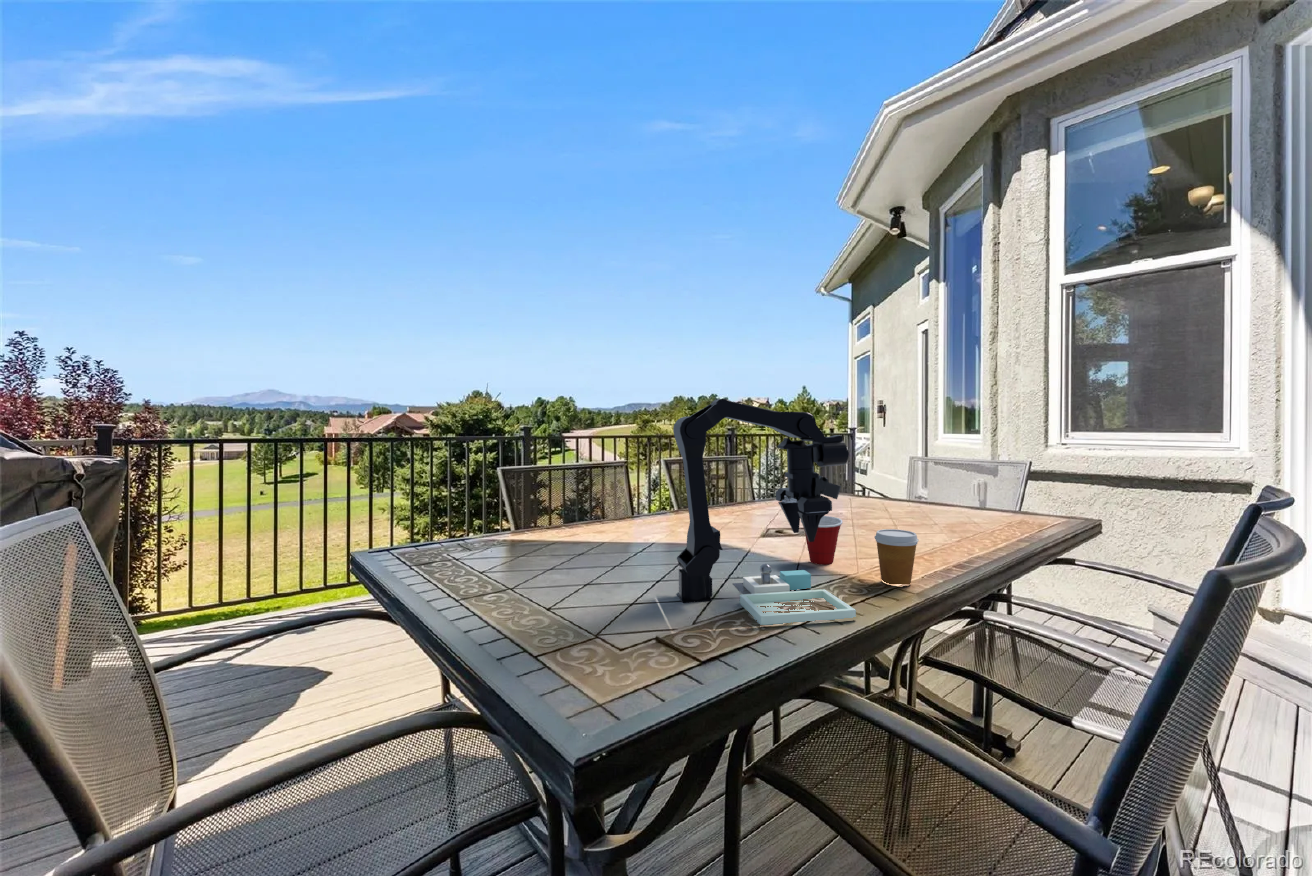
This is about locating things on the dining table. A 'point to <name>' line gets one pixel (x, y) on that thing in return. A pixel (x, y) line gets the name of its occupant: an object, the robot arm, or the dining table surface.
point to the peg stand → (765, 579)
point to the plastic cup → (824, 541)
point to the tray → (772, 618)
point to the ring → (779, 582)
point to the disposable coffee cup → (896, 555)
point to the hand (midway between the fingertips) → (803, 537)
